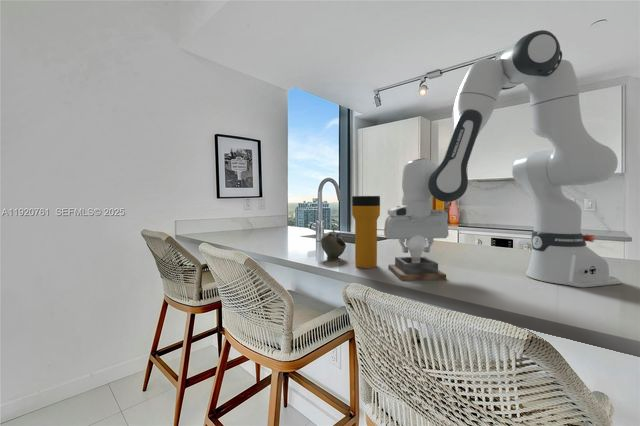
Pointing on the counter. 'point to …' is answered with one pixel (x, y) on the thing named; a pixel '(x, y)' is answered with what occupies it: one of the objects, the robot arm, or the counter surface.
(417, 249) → the lightbulb
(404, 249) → the robot arm
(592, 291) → the counter surface
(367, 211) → the flashlight
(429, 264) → the socket base
